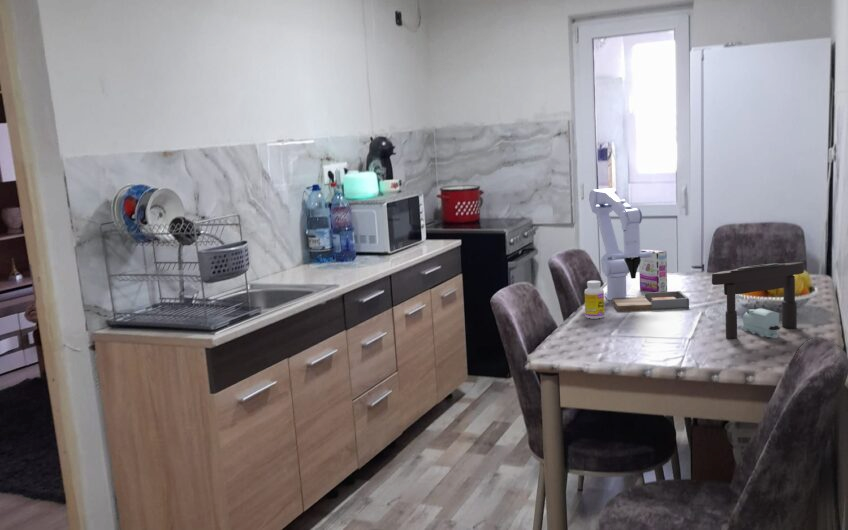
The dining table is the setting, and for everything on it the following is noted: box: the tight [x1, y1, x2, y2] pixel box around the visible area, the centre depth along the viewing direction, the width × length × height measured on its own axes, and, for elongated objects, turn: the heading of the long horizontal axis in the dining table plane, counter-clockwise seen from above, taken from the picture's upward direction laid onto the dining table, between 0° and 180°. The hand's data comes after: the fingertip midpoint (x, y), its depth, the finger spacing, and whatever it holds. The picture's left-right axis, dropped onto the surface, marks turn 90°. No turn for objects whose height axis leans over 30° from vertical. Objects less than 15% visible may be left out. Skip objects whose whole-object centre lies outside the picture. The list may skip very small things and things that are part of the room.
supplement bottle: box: [584, 280, 605, 320], centre depth 272 cm, size 7×7×13 cm
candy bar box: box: [638, 248, 668, 293], centre depth 309 cm, size 11×5×16 cm, turn 25°
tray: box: [644, 290, 690, 311], centre depth 284 cm, size 14×13×4 cm
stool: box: [711, 261, 805, 340], centre depth 237 cm, size 16×21×33 cm
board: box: [611, 296, 653, 312], centre depth 285 cm, size 14×12×2 cm
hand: (633, 278), depth 285 cm, fingers closed
